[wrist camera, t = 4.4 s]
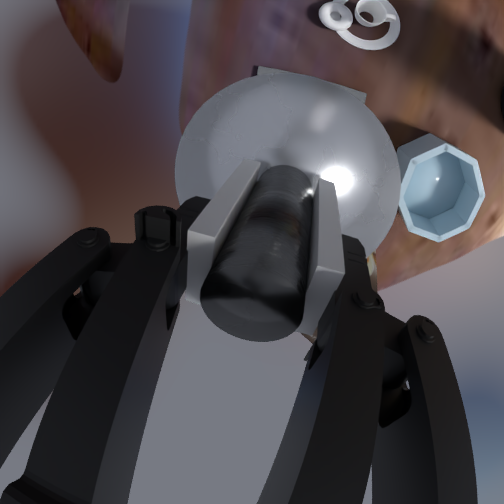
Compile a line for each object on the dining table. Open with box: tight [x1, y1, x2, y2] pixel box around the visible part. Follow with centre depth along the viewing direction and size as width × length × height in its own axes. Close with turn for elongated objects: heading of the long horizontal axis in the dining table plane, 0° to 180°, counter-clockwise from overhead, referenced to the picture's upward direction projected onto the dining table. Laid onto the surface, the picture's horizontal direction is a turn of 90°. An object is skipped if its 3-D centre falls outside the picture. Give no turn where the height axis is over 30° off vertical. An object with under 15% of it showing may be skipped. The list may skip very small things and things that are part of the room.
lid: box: [175, 73, 401, 342], centre depth 11 cm, size 12×12×9 cm
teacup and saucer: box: [319, 0, 400, 50], centre depth 19 cm, size 9×8×4 cm
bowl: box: [396, 133, 485, 242], centre depth 27 cm, size 11×11×5 cm
